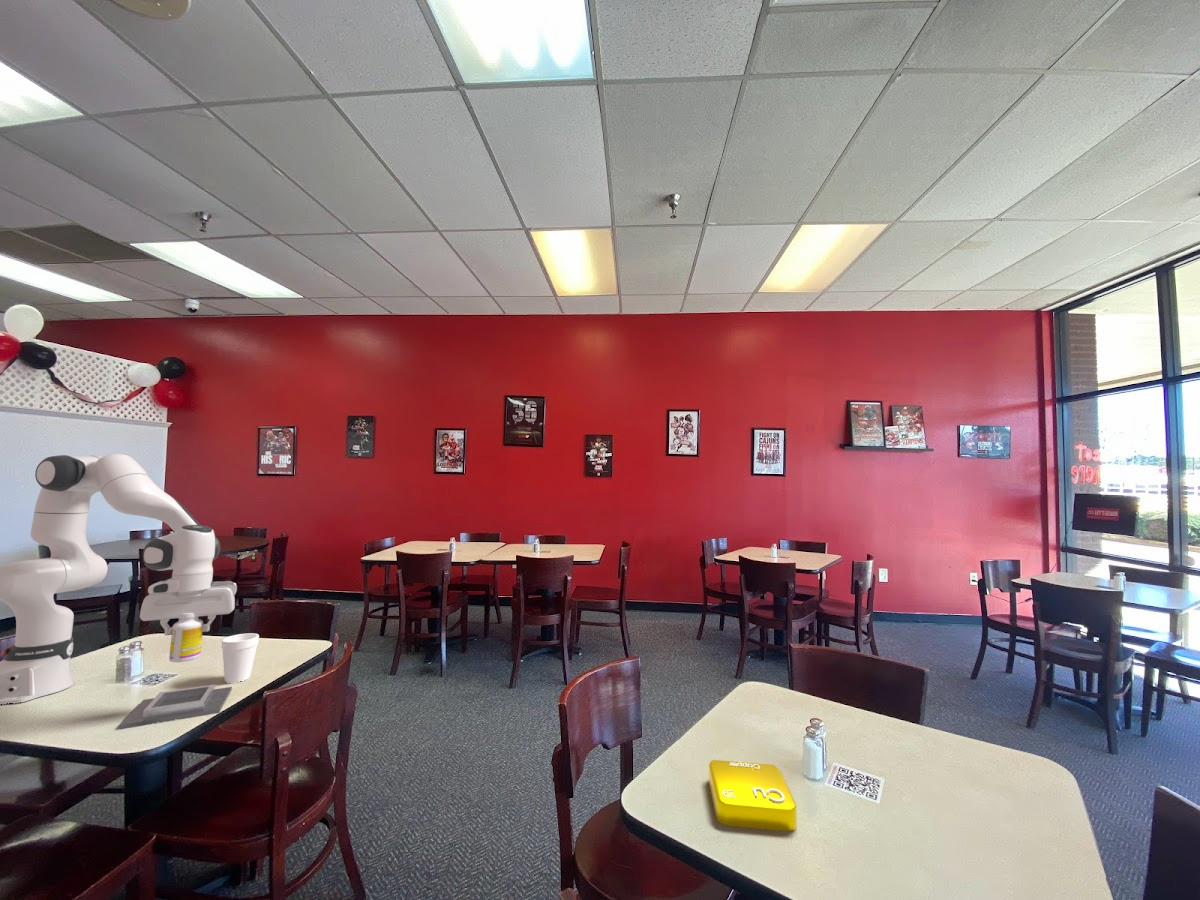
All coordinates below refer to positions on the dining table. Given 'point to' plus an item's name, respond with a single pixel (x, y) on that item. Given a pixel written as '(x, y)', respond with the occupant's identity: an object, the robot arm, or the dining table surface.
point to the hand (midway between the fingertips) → (187, 633)
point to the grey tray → (178, 705)
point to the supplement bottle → (186, 638)
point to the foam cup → (239, 656)
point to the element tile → (751, 796)
